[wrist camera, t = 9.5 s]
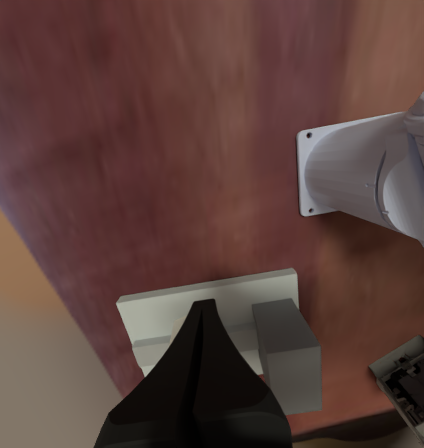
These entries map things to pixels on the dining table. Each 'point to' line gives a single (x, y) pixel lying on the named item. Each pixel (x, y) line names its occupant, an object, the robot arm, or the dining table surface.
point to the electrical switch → (405, 382)
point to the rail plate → (239, 330)
